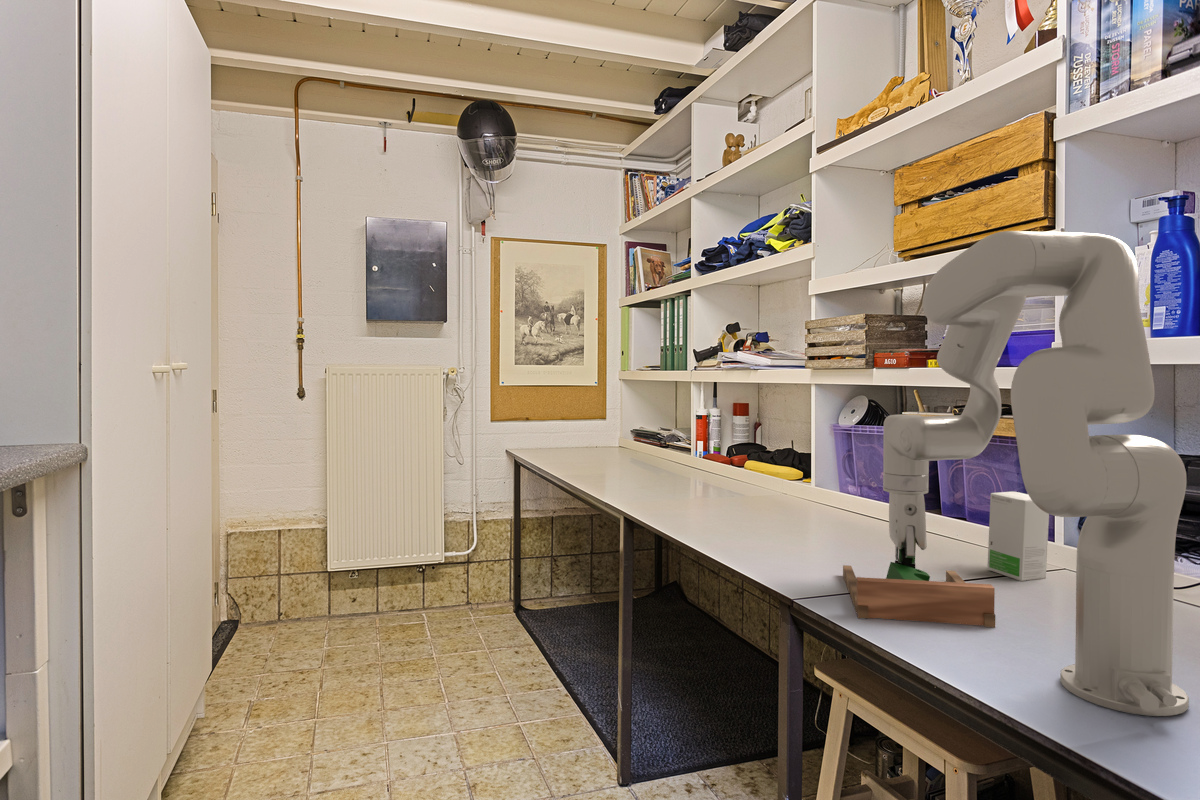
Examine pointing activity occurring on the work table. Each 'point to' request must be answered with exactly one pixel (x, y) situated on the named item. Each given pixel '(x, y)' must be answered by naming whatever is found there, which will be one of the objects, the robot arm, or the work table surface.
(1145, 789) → the work table surface
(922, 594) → the brown wooden tray
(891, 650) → the work table surface
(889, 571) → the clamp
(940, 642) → the work table surface
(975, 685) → the work table surface
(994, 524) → the skincare box
